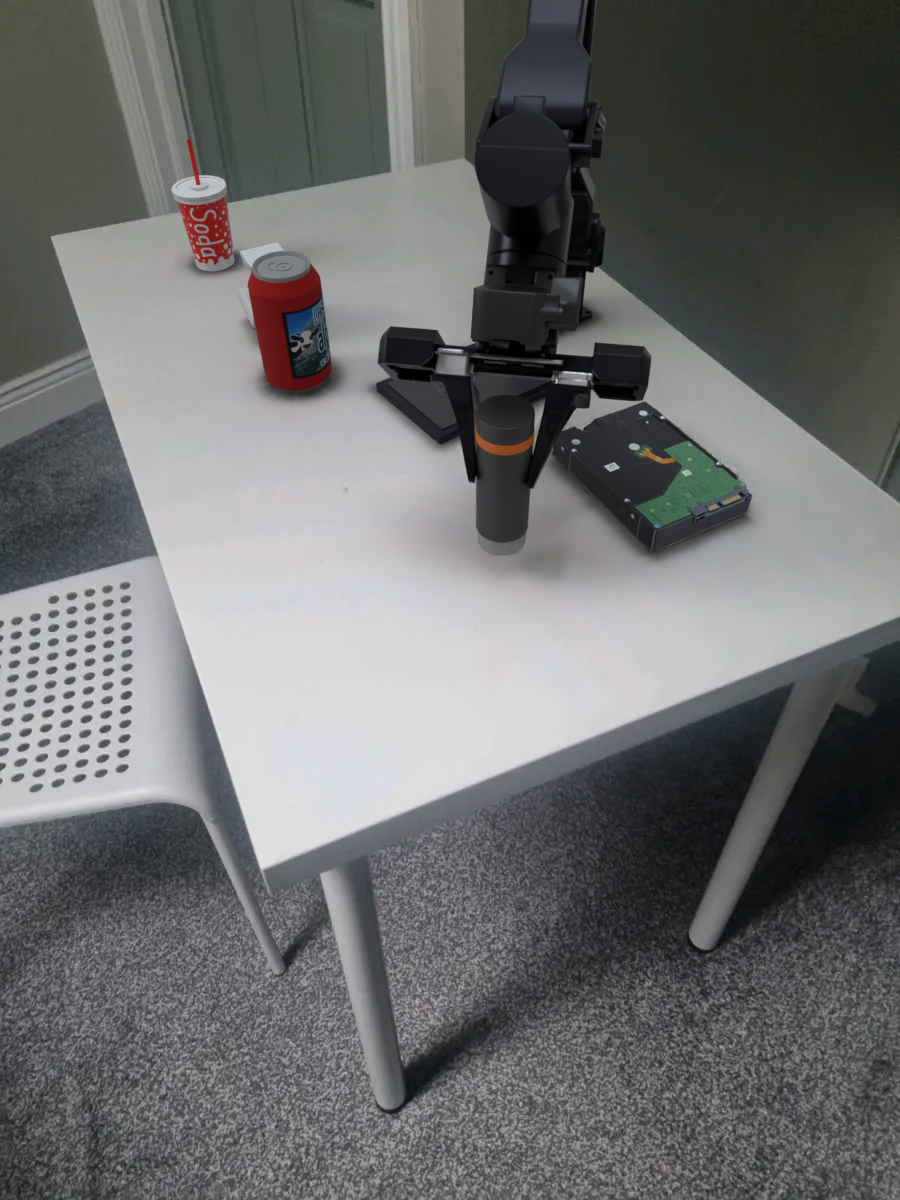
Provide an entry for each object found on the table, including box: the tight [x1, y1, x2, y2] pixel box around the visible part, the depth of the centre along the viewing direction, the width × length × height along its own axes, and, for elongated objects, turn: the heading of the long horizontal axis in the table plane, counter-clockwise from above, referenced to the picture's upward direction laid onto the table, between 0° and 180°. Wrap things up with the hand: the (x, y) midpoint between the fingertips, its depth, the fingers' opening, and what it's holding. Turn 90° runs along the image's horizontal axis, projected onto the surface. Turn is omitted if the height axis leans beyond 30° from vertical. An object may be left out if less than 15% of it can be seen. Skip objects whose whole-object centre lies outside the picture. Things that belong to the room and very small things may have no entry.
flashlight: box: [475, 395, 536, 557], centre depth 65 cm, size 4×4×12 cm
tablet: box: [375, 342, 552, 445], centre depth 88 cm, size 16×11×1 cm
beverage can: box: [247, 250, 333, 392], centre depth 86 cm, size 7×7×12 cm
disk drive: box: [551, 401, 753, 552], centre depth 77 cm, size 10×3×15 cm
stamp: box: [237, 242, 285, 331], centre depth 94 cm, size 9×7×8 cm
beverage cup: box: [170, 137, 236, 272], centre depth 102 cm, size 6×6×14 cm
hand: (500, 485), depth 64 cm, fingers closed on flashlight, 4 cm apart
